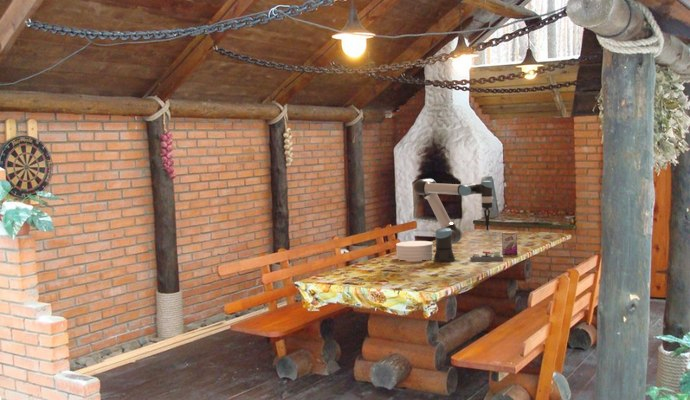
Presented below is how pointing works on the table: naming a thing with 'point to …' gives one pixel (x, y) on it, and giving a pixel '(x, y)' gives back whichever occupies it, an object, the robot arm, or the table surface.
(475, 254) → the cream rounded ball
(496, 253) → the pale green cube
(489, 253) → the rocker
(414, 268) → the table surface
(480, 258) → the panel
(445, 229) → the robot arm
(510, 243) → the candy bar box
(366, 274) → the table surface
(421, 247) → the plate stack
